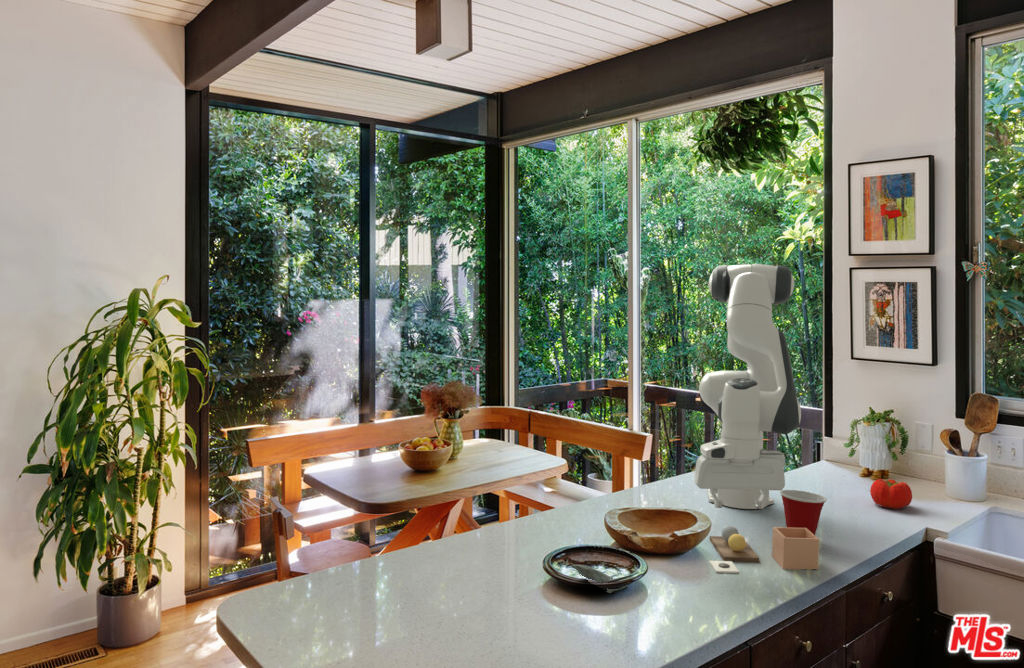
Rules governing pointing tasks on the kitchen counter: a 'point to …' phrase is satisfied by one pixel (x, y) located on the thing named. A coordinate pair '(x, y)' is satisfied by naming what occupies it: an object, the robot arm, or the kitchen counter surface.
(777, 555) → the terracotta open box
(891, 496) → the tomato
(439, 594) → the kitchen counter surface
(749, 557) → the walnut board
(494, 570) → the kitchen counter surface
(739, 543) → the ochre ball
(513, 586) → the kitchen counter surface
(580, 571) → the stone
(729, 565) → the tile
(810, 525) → the plastic cup
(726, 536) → the grey ball
